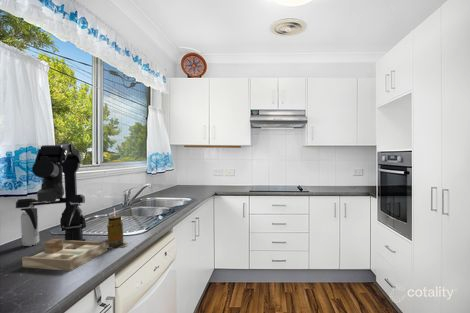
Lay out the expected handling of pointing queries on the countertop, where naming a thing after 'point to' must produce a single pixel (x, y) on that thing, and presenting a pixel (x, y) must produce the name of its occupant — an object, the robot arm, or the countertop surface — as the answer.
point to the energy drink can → (28, 230)
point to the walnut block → (53, 246)
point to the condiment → (115, 232)
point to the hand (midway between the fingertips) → (52, 227)
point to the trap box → (66, 256)
